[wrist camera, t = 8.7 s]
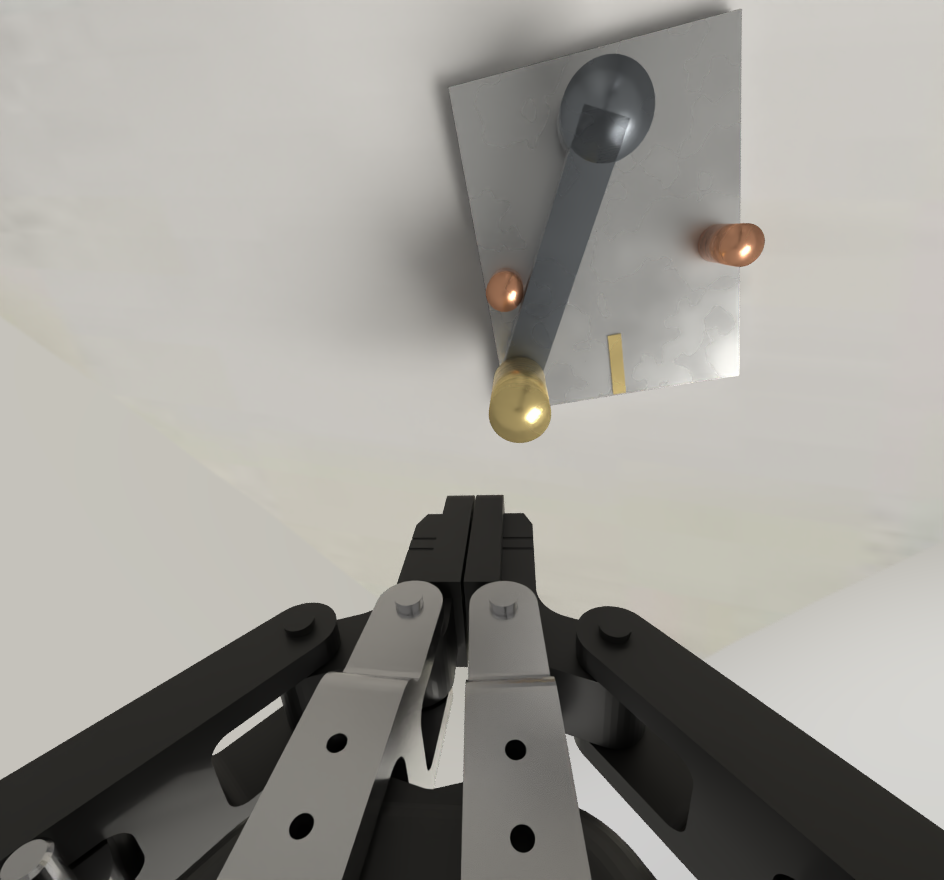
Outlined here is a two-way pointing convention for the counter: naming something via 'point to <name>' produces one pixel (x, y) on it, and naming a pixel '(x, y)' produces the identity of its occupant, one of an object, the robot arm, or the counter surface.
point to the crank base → (621, 214)
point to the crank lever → (569, 229)
